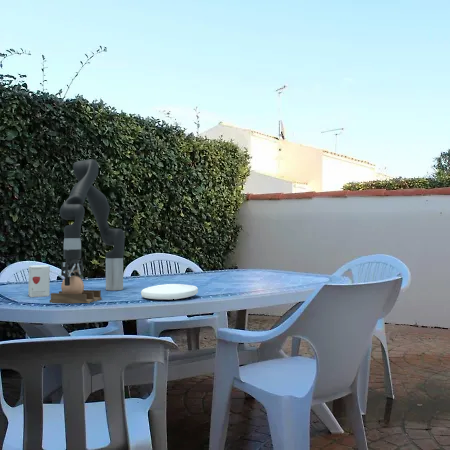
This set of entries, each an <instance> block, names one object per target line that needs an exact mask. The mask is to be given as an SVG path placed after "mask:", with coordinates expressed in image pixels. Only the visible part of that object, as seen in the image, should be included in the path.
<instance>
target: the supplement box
mask: <svg viewBox="0 0 450 450" xmlns="http://www.w3.org/2000/svg"><path fill="white" fill-rule="evenodd" d="M50 267H51V266H50V265H48V264H43V265H41V264H39V265H38V264H37V265H28V283H27V284H28V290H27V291H28V292H27V293H28V297H30V298H38V297H39V298H40V297H43V298H45V297H50V280H51V279H50V277H51V275H50V271H51V270H50V269H51V268H50Z"/></svg>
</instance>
